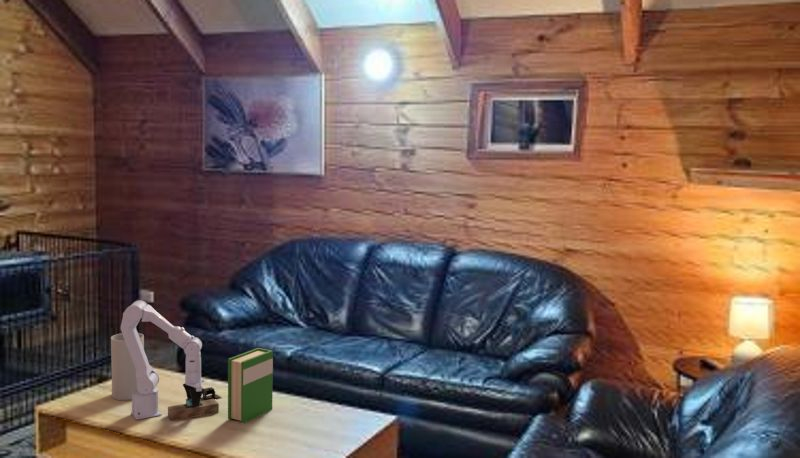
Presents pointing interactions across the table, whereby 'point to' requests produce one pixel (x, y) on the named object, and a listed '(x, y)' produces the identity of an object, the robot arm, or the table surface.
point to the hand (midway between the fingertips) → (193, 403)
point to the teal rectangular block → (190, 403)
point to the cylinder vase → (123, 368)
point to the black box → (207, 392)
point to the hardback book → (250, 384)
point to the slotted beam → (193, 410)
